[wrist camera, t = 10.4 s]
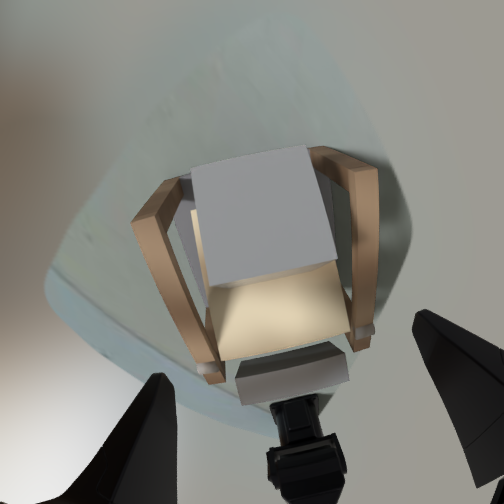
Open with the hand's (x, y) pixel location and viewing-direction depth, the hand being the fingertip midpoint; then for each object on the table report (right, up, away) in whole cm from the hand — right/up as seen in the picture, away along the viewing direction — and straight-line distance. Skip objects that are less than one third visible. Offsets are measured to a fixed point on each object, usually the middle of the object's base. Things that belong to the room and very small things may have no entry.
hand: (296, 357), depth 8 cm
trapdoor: (0, 0, +13) cm, 13 cm away
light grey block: (-1, +4, +8) cm, 9 cm away
